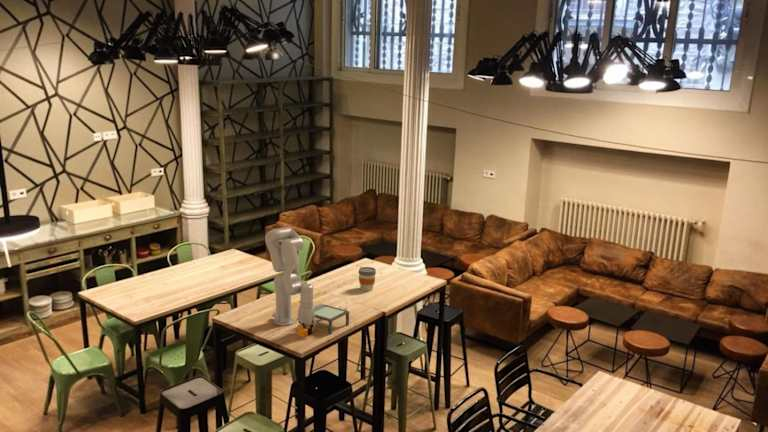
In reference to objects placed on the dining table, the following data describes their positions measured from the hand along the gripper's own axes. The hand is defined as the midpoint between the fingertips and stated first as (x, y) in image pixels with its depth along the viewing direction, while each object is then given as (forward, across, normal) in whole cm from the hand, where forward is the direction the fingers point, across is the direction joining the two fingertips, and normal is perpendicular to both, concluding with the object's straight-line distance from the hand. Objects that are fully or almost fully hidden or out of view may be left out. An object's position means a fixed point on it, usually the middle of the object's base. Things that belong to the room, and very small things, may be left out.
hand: (306, 332), depth 414 cm
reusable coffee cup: (+1, -17, +89) cm, 91 cm away
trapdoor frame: (0, +3, +17) cm, 17 cm away
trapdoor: (-7, +2, +17) cm, 19 cm away
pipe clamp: (+1, 0, 0) cm, 1 cm away
